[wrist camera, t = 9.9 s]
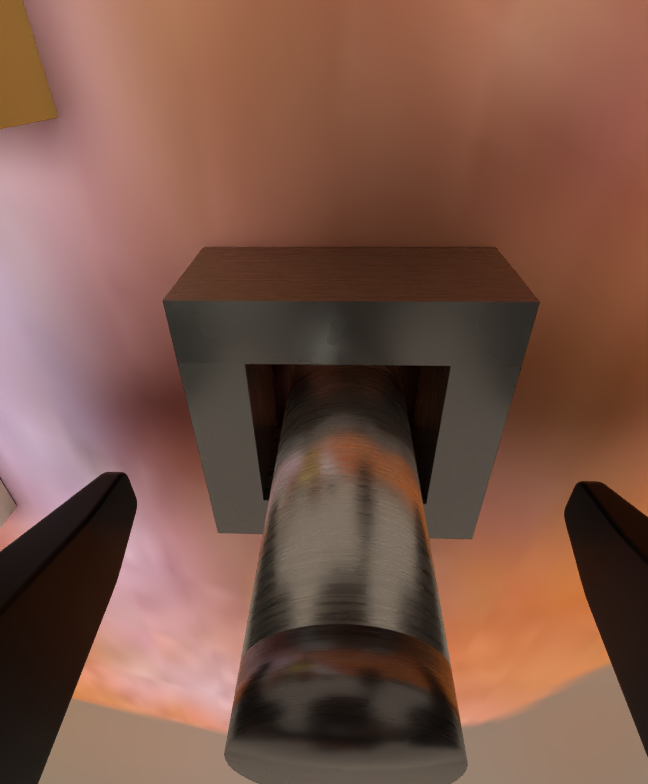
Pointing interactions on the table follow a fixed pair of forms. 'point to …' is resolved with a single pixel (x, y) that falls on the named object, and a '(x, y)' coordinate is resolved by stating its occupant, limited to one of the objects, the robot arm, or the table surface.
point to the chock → (21, 70)
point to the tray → (5, 504)
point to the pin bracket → (350, 359)
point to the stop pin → (345, 601)
